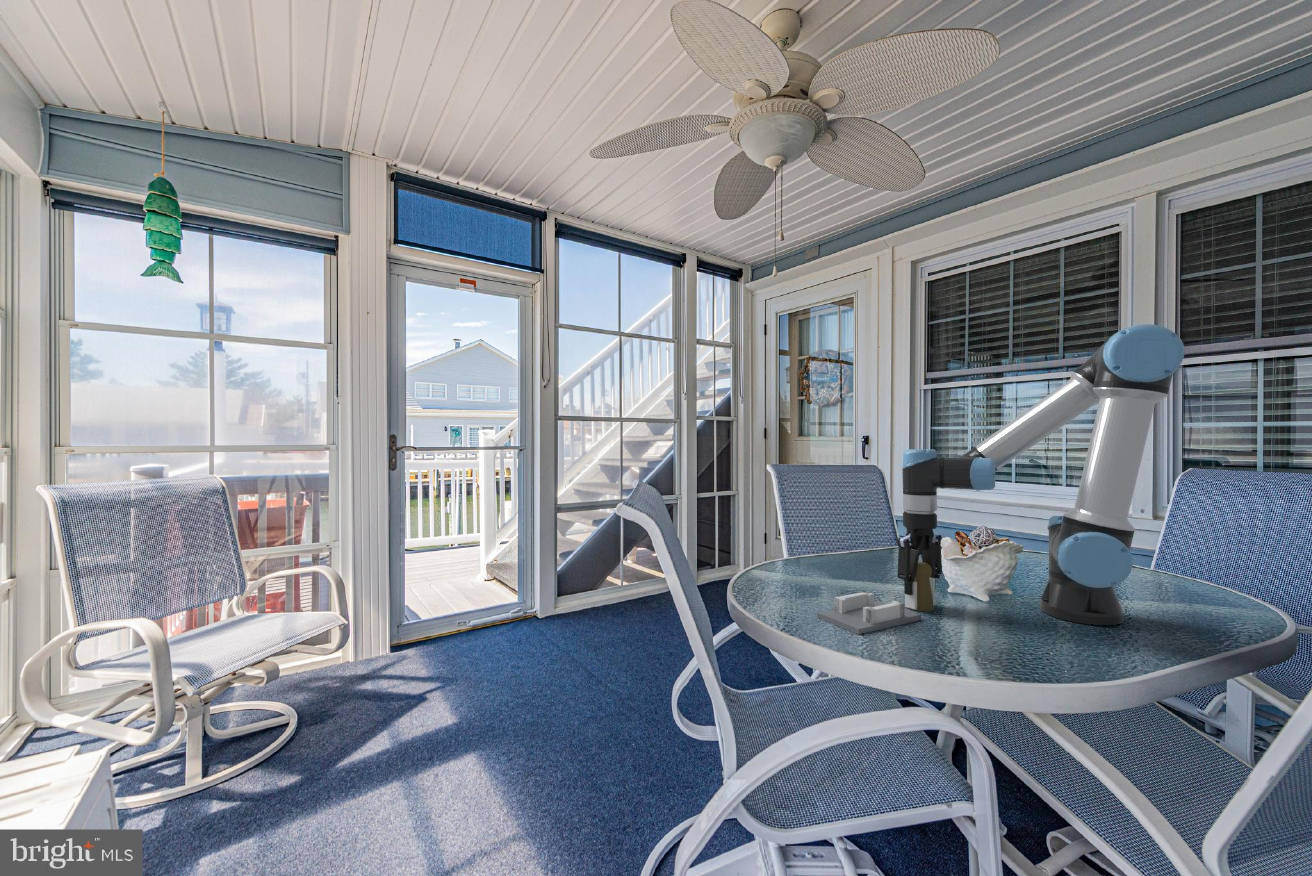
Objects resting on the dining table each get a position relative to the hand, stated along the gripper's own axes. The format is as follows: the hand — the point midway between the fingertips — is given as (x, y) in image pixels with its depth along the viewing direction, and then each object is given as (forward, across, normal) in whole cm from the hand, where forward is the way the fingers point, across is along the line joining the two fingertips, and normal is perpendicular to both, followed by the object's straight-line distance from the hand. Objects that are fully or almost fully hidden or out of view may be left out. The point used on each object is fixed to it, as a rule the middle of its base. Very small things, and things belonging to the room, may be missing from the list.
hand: (920, 605), depth 127 cm
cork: (+1, 0, 0) cm, 1 cm away
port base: (0, +18, 0) cm, 18 cm away
